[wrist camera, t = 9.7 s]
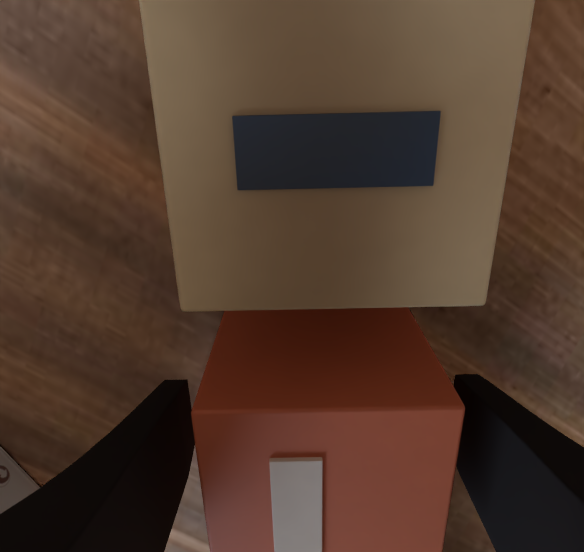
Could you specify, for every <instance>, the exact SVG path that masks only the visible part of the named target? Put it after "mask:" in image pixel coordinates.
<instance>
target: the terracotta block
mask: <svg viewBox="0 0 584 552" xmlns="http://www.w3.org/2000/svg"><path fill="white" fill-rule="evenodd" d="M464 413H465V406H464V404H463V402H462V400H461V399H460V397H459V395H458V393H457V392H456V390H455V388H454V386H453V385H452V383H451V381H450V380H449V378H448V376H447V374H446V373H445V371H444V369H443V367H442V366H441V364H440V362H439V360H438V359H437V357H436V355H435V353H434V352H433V350H432V348H431V346H430V345H429V343H428V341H427V339H426V338H425V336H424V334H423V332H422V331H421V329H420V327H419V326H418V324H417V322H416V320H415V319H414V317H413V315H412V313H411V312H410V310H409V308H408V307H395V308H345V309H295V310H246V311H224V314H223V317H222V320H221V323H220V326H219V329H218V332H217V335H216V338H215V341H214V344H213V347H212V350H211V353H210V356H209V359H208V362H207V365H206V369H205V372H204V375H203V378H202V381H201V384H200V387H199V390H198V393H197V396H196V399H195V402H194V405H193V408H192V411H191V417H192V424H193V432H194V439H195V446H196V453H197V461H198V468H199V475H200V482H201V489H202V497H203V504H204V511H205V518H206V525H207V533H208V540H209V547H210V552H442V551H443V545H444V539H445V533H446V526H447V520H448V514H449V507H450V501H451V495H452V489H453V482H454V476H455V470H456V464H457V457H458V451H459V445H460V438H461V432H462V426H463V420H464Z"/></svg>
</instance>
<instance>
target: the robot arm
mask: <svg viewBox="0 0 584 552" xmlns="http://www.w3.org/2000/svg"><path fill="white" fill-rule="evenodd" d="M454 388H455V390H456V392H457V393H458V395H459V397H460V399H461V400H462V402H463V404H464V406H465V413H464V420H463V426H462V432H461V438H460V445H459V451H458V457H457V464H456V466H457V469H458V472H459V474H460V476H461V478H462V481H463V483H464V485H465V487H466V489H467V491H468V493H469V496H470V498H471V500H472V502H473V504H474V506H475V508H476V510H477V512H478V514H479V517H480V519H481V521H482V523H483V525H484V527H485V529H486V531H487V533H488V535H489V538H490V540H491V542H492V544H493V546H494V548H495V550H496V552H584V447H582V446H581V445H579V444H578V443H576V442H574V441H573V440H571V439H570V438H568V437H567V436H565V435H564V434H562V433H561V432H559V431H558V430H556V429H555V428H553V427H552V426H550V425H549V424H547V423H546V422H544V421H543V420H542V419H540V418H539V417H537V416H536V415H534V414H533V413H532V412H530V411H529V410H527V409H526V408H525V407H523V406H522V405H521V404H519V403H518V402H516V401H515V400H514V399H512V398H511V397H510V396H508V395H507V394H505V393H504V392H503V391H501V390H500V389H499V388H497V387H496V386H494V385H493V384H492V383H490V382H489V381H487V380H486V379H485V378H483V377H481V376H480V375H478V374H464V375H455V379H454ZM191 411H192V410H191V402H190V395H189V388H188V381H187V380H164V381H163V382H162V383H161V384H160V385H159V386H158V387H157V388H156V389H155V390H154V391H153V392H152V393H151V394H150V395H149V396H148V397H147V398H146V399H145V400H144V401H143V402H142V403H141V404H139V405H138V406H137V407H136V408H135V409H134V410H133V411H132V412H131V413H130V414H129V415H128V416H127V417H126V418H125V419H124V420H123V421H122V422H121V423H120V424H118V425H117V426H116V427H115V428H114V429H113V430H112V431H111V432H110V433H109V434H107V435H106V436H105V437H104V438H103V439H102V440H100V441H99V442H98V443H97V444H96V445H95V446H93V447H92V448H91V449H90V450H89V451H88V452H86V453H85V454H84V455H83V456H82V457H80V458H79V459H78V460H77V461H75V462H74V463H73V464H72V465H70V466H69V467H68V468H66V469H65V470H64V471H63V472H61V473H60V474H58V475H57V476H56V477H54V478H53V479H52V480H50V481H49V482H47V483H46V484H45V485H43V486H42V487H41V488H39V489H38V490H36V491H35V492H33V493H32V494H30V495H29V496H27V497H26V498H24V499H23V500H21V501H19V502H18V503H16V504H15V505H13V506H12V507H10V508H9V509H7V510H6V511H4V512H2V513H1V514H0V552H164V550H165V547H166V544H167V541H168V538H169V535H170V532H171V529H172V526H173V523H174V520H175V516H176V513H177V510H178V507H179V504H180V501H181V498H182V495H183V492H184V489H185V485H186V482H187V479H188V476H189V471H190V466H191V461H192V456H193V451H194V445H195V439H194V432H193V424H192V417H191Z"/></svg>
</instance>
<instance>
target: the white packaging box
mask: <svg viewBox="0 0 584 552" xmlns="http://www.w3.org/2000/svg"><path fill="white" fill-rule="evenodd" d="M39 488H40V487H39V486H38V485H37V484H36V483H35V482H34V481H33V480H32V478H31V477H30V476H29V475H28V474H27V473H26V472H25V471H24V470H23V469H22V468H21V467H20V466H19V465H18V464H17V463H16V462H15V461H14V460H13V459H12V458H11V457H10V456H9V455H8V454H7V453H6V452H5V451H4V450H3V449H2V448H1V447H0V514H1V513H2V512H4V511H6V510H7V509H9V508H10V507H12V506H13V505H15V504H16V503H18V502H19V501H21V500H23V499H24V498H26V497H27V496H29V495H30V494H32V493H33V492H35V491H36V490H38V489H39Z"/></svg>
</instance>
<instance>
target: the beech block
mask: <svg viewBox="0 0 584 552" xmlns="http://www.w3.org/2000/svg"><path fill="white" fill-rule="evenodd" d="M534 4H535V0H139V6H140V14H141V21H142V28H143V36H144V43H145V51H146V58H147V65H148V73H149V80H150V88H151V95H152V103H153V110H154V117H155V125H156V132H157V140H158V147H159V154H160V162H161V169H162V177H163V184H164V192H165V199H166V206H167V214H168V221H169V229H170V236H171V243H172V251H173V258H174V266H175V273H176V281H177V288H178V295H179V303H180V308H181V310H182V311H184V312H196V311H246V310H295V309H345V308H395V307H444V306H482V305H484V304H485V303H486V298H487V292H488V286H489V280H490V274H491V267H492V261H493V255H494V249H495V243H496V237H497V231H498V225H499V218H500V212H501V206H502V200H503V194H504V188H505V182H506V176H507V169H508V163H509V157H510V151H511V145H512V139H513V133H514V127H515V121H516V114H517V108H518V102H519V96H520V90H521V84H522V78H523V72H524V65H525V59H526V53H527V47H528V41H529V35H530V29H531V23H532V16H533V10H534Z"/></svg>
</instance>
